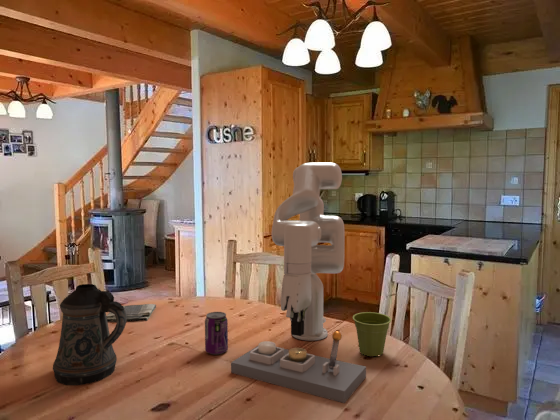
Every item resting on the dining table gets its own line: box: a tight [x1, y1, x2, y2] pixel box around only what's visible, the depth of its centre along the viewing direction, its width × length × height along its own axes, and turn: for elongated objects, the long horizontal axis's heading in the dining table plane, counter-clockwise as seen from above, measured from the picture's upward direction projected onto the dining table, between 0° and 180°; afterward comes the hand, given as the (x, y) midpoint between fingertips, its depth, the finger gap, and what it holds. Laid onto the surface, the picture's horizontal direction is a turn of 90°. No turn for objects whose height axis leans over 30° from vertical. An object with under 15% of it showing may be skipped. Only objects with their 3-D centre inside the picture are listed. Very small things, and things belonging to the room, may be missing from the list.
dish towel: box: [106, 303, 157, 323], centre depth 177 cm, size 19×18×3 cm
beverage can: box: [204, 311, 229, 356], centre depth 138 cm, size 7×7×12 cm
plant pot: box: [352, 311, 392, 357], centre depth 137 cm, size 12×12×11 cm
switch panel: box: [230, 345, 367, 404], centre depth 122 cm, size 16×34×5 cm, turn 60°
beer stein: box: [52, 283, 127, 386], centre depth 123 cm, size 16×19×25 cm
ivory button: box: [257, 340, 277, 355], centre depth 126 cm, size 5×5×2 cm
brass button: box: [288, 347, 308, 362], centre depth 121 cm, size 5×5×2 cm
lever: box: [329, 330, 342, 370], centre depth 118 cm, size 3×3×10 cm
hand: (297, 334), depth 120 cm, fingers closed
